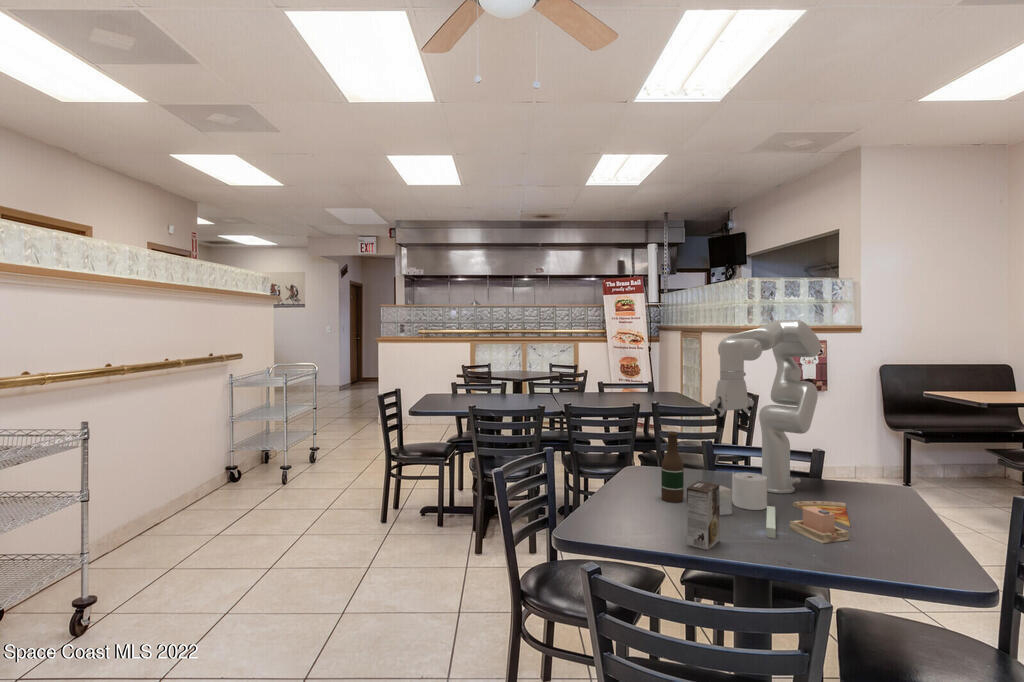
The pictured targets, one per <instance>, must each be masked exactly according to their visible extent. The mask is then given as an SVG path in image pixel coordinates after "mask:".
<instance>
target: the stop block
mask: <svg viewBox="0 0 1024 682" xmlns="http://www.w3.org/2000/svg"><path fill="white" fill-rule="evenodd" d="M802 520H803V525H804V526H806V527H808V528H811V529H813V530H815V531H818V532H820V533H831V534H832V535H835V526H836V524H835V523H836V522H835V514H833V513H831V512H829V511H826V510H822V509H820V508H817V507H808V508H803V509H802Z"/></svg>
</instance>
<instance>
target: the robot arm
mask: <svg viewBox="0 0 1024 682" xmlns="http://www.w3.org/2000/svg"><path fill="white" fill-rule="evenodd" d="M821 347H822V346H821V342H820V339H819V336H817V334H816V333H815V332H814V331H813V329H812V328H811V327H810V326H809V325H808V324H807V323H805V322H804V321H802V320H800V319H780V320H773V321H770V322H767V323H766V324H765V325H763V326H759V327H758V328H754V329H750V330H747V331H741V332H737V333H734V334H733V333H732V334H731V335H728V336H726V337H724V338H723V339H721V341H720V342H719V343H718V347H717V353H718V355H719V380H717V384H716V390H715V399H714V400H713V401H711V402H709V406H710V408H711V412H713V414H714V416H716V417H715V423H716V425H715V426H716V428H719V429H725V416H723V415H724V414H725V412H726V411H738V410H739V411H740V414H739V425H740V426H743V427H748V426H749V415H750V412H751V411H752V409H753V405H754V403H755V401H754V400H753V399H751V398H750V397H749V396H748V390H747V384H746V383H747V382H746V380H745V376H746V374H747V373H746V372H745V363H744V362H745V361H747V362H748V361H755V360H757V359H759V358H761V355H762V353H763V351H769V350H771V349H772V350H771V351H772V353H773V356H774V360H775V362H776V373H775V377H774V380H773V382H772V386H771V390H770V399H771V401H772V402H773V403H775V404H767V405H764V406H762V407H761V408H760V410H759V415H758V417H759V418H758V419H759V420H758V421H759V424H760V425H759V426H760V430H761V475H763V476H766V477H767V493H772V494H792V493H794V492H795V490H796V488H795V486H793V485H794V484H800V483H801V478H800V477H792V476H791V443H790V440H789V437H788V436H787V434H786V433H791V434H798V435H799V434H800V435H802V434H806V433H807V432H809V430H810V428H811V425H812V421H813V417H814V413H815V411H816V406H817V403H818V394H819V393H818V388H817V386H816V385H815V384H814V383H813V382H810V381H805V380H801V376H802V369H801V368H800V366H799V364H798V363H797V362H796V360H795V359H794V358H815V357H817V356H818V355H819V354H820V351H821Z"/></svg>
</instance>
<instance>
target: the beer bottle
mask: <svg viewBox="0 0 1024 682" xmlns="http://www.w3.org/2000/svg"><path fill="white" fill-rule="evenodd" d="M666 435H667V447H666V455H665V456H664V458H663V459H662V463H661V500H663V501H665V502H668V503H682V502H683V500H684V492H685V491H684V486H685V485H684V484H685V483H684V482H685V481H684V479H685V477H684V474H685V473H684V472H685V471H684V467H685V466H684V462H683V459H682V457H681V456H680V453H679V448H678V445H679V444H678V435H679V434H678V432H677V431H672V430H671V431H668V432H667V434H666Z"/></svg>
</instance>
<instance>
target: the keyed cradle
mask: <svg viewBox="0 0 1024 682" xmlns="http://www.w3.org/2000/svg"><path fill="white" fill-rule="evenodd" d="M789 529H790V530H792V532H793V531H794V532H796V533H797V534H800V535H802V536H805V537H807V538H808V539H809V538H810V539H812V540H813V541H815V542H818V543H820V544H827V543H835V542H843V541H849V540H850V532H849V531H848V530H846V529H843V528H840V527H838V526H836V525H835V535H832V534H831V533H820V532H818V531H815V530H813V529H811V528H808V527H806V526H804V525H803V519H798V520H790V521H789Z"/></svg>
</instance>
